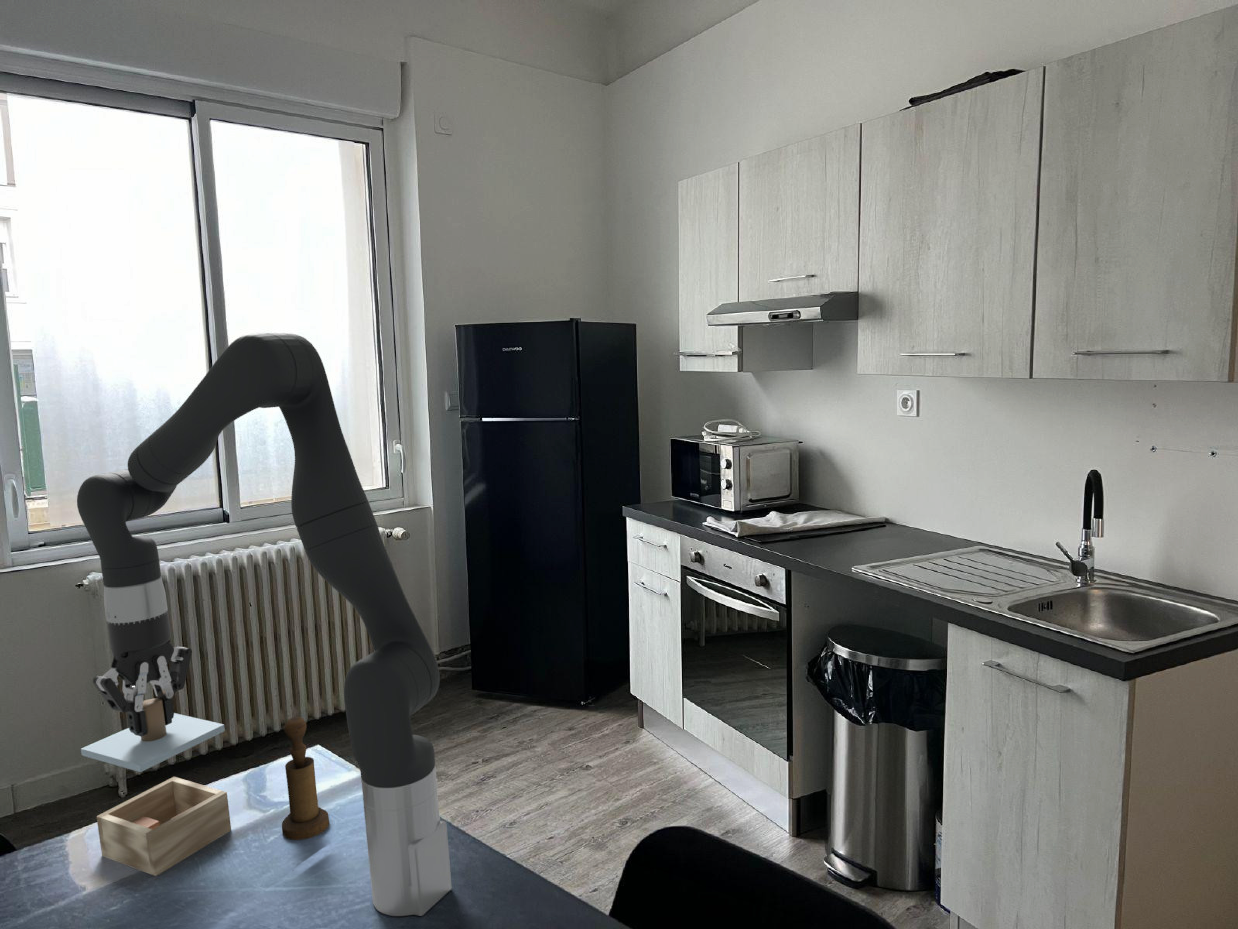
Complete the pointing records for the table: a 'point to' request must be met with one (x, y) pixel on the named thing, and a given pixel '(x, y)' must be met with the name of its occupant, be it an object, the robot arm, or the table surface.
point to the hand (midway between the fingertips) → (153, 728)
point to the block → (147, 822)
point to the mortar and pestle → (301, 789)
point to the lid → (152, 739)
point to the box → (164, 825)
